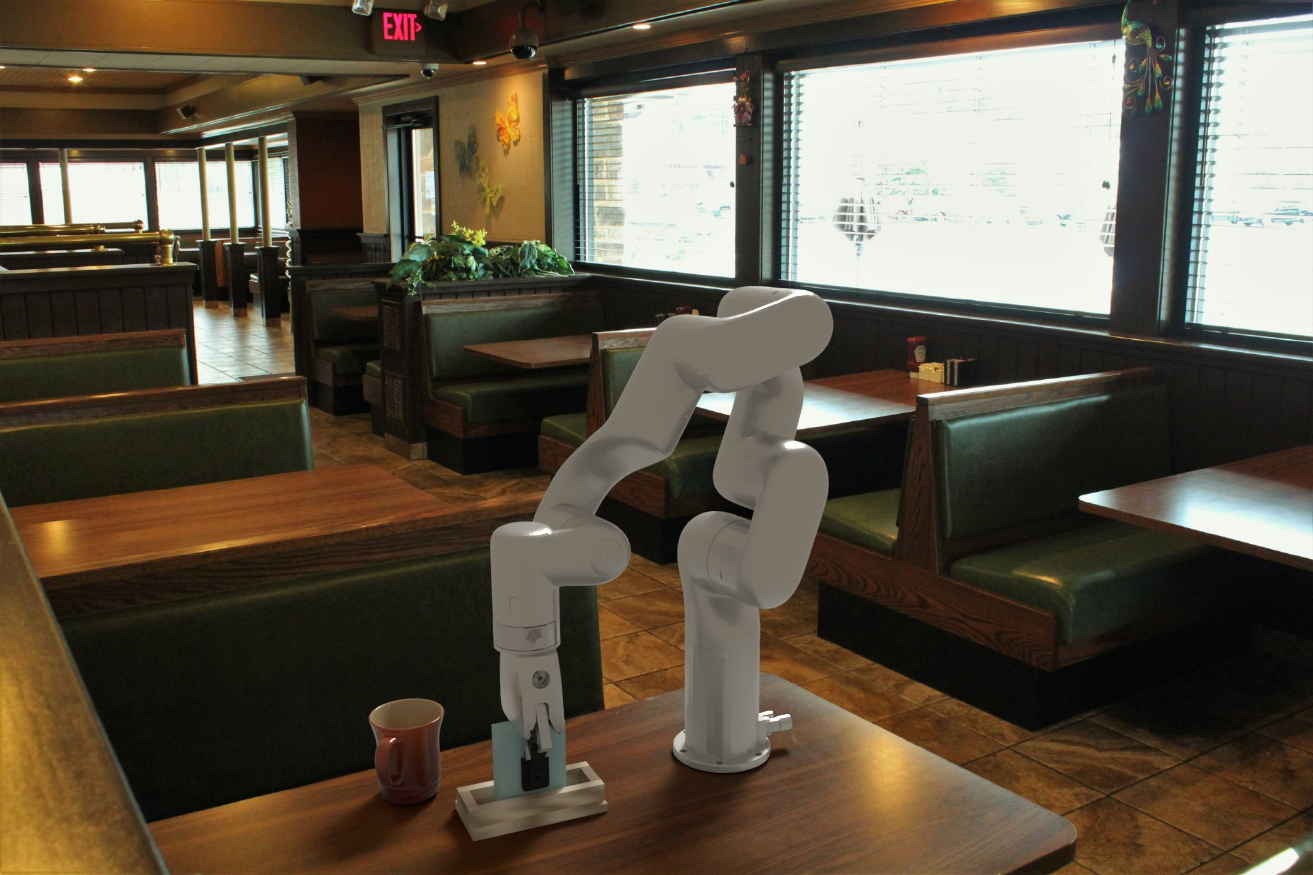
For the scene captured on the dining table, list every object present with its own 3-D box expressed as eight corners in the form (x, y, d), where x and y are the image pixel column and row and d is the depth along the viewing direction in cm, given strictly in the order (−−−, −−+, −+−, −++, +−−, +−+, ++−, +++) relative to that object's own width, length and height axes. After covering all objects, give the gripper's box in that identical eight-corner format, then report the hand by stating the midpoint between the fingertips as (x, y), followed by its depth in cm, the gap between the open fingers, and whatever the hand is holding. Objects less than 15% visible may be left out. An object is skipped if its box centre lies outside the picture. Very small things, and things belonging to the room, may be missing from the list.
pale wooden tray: (583, 780, 139) (583, 758, 139) (607, 810, 132) (607, 787, 131) (455, 808, 133) (454, 784, 132) (473, 841, 126) (472, 816, 125)
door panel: (559, 782, 135) (557, 711, 133) (566, 792, 132) (565, 720, 131) (494, 796, 132) (491, 724, 130) (500, 806, 129) (497, 733, 128)
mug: (392, 772, 141) (388, 695, 140) (458, 779, 140) (455, 701, 138) (347, 821, 130) (342, 738, 128) (419, 829, 128) (415, 744, 126)
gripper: (582, 650, 123) (585, 807, 126) (536, 605, 137) (540, 747, 141) (515, 661, 120) (520, 821, 123) (475, 614, 134) (481, 758, 138)
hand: (531, 780), depth 132 cm, fingers closed on door panel, 2 cm apart
